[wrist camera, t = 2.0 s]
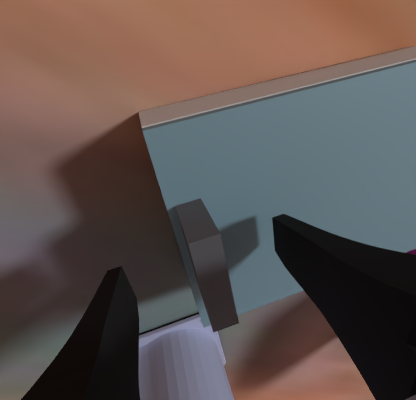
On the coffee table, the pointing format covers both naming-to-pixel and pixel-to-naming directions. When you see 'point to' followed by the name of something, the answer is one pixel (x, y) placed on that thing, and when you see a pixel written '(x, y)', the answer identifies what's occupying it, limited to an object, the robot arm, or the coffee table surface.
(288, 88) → the carton
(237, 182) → the carton lid
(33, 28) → the coffee table surface
